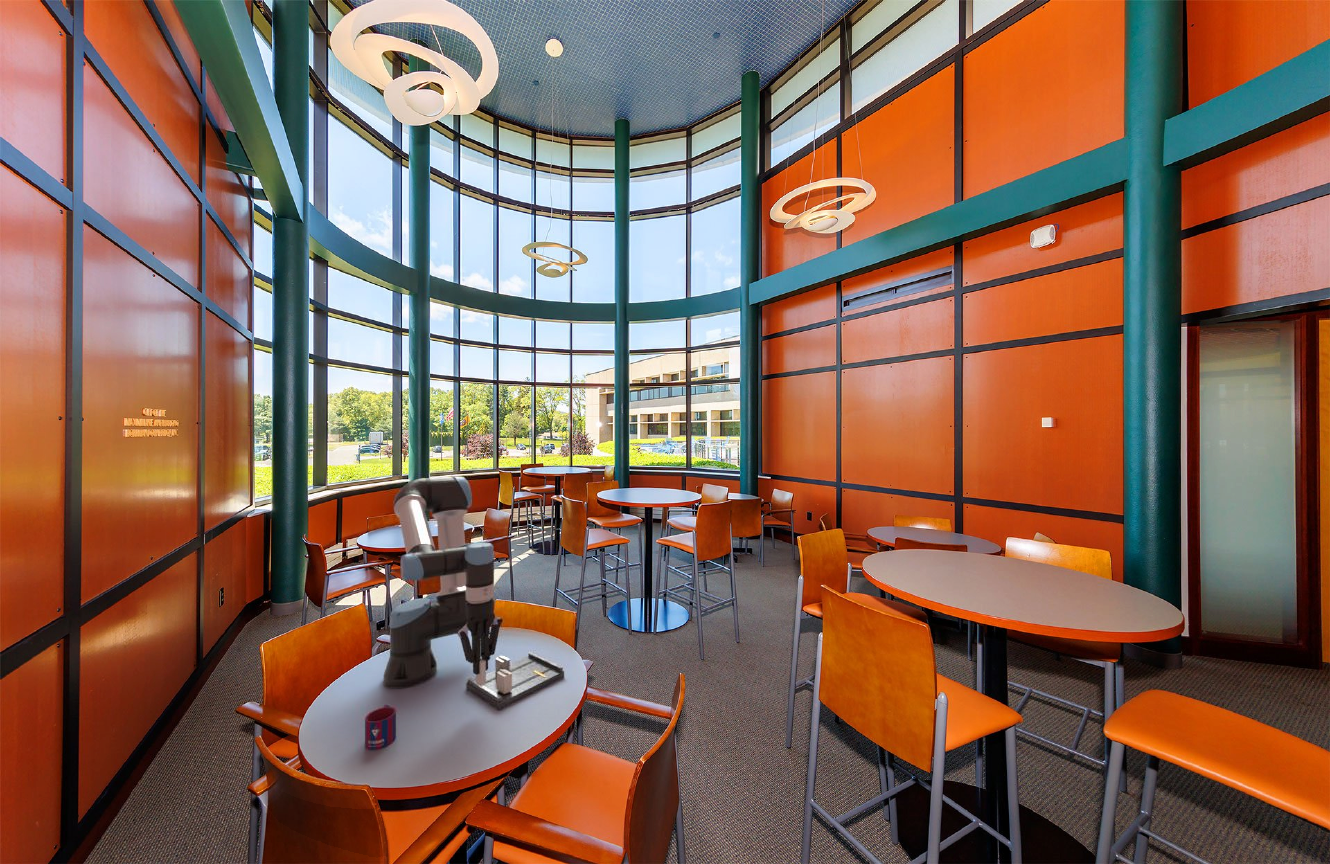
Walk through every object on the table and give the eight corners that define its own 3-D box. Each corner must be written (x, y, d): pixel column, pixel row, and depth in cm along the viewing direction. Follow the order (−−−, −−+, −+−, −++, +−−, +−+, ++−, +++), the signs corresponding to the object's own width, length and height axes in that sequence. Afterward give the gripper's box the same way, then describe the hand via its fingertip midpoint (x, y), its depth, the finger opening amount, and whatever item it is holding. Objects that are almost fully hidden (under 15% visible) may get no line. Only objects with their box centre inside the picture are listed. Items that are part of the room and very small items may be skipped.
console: (466, 689, 141) (466, 664, 141) (530, 660, 159) (530, 639, 159) (499, 710, 130) (498, 683, 130) (564, 677, 148) (564, 653, 148)
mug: (360, 751, 113) (360, 723, 114) (377, 726, 123) (377, 701, 123) (390, 747, 115) (390, 720, 115) (404, 723, 125) (404, 698, 125)
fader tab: (496, 689, 137) (496, 670, 137) (504, 685, 139) (504, 667, 139) (504, 693, 134) (504, 675, 134) (512, 690, 136) (511, 671, 136)
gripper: (464, 608, 124) (465, 698, 123) (508, 595, 134) (508, 678, 133) (450, 602, 128) (451, 689, 128) (493, 590, 138) (494, 670, 138)
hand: (480, 683), depth 130 cm, fingers closed
